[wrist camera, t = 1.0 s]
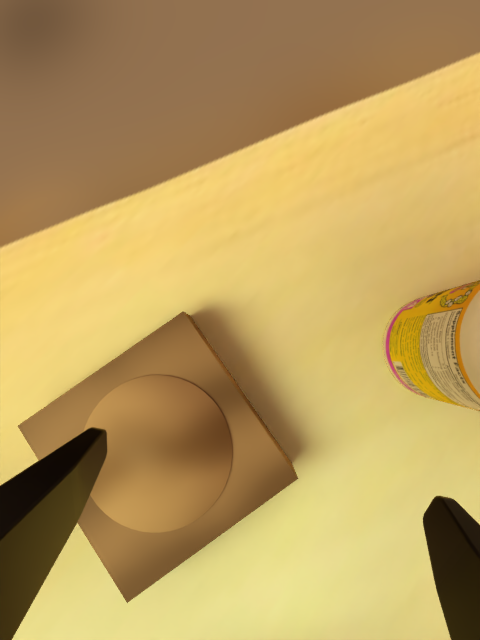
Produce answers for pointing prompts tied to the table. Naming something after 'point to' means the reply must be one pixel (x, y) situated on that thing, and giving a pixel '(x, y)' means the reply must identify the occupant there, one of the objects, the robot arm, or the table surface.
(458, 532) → the robot arm
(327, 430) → the table surface
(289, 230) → the table surface
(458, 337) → the supplement bottle
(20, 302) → the table surface
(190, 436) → the base slab
